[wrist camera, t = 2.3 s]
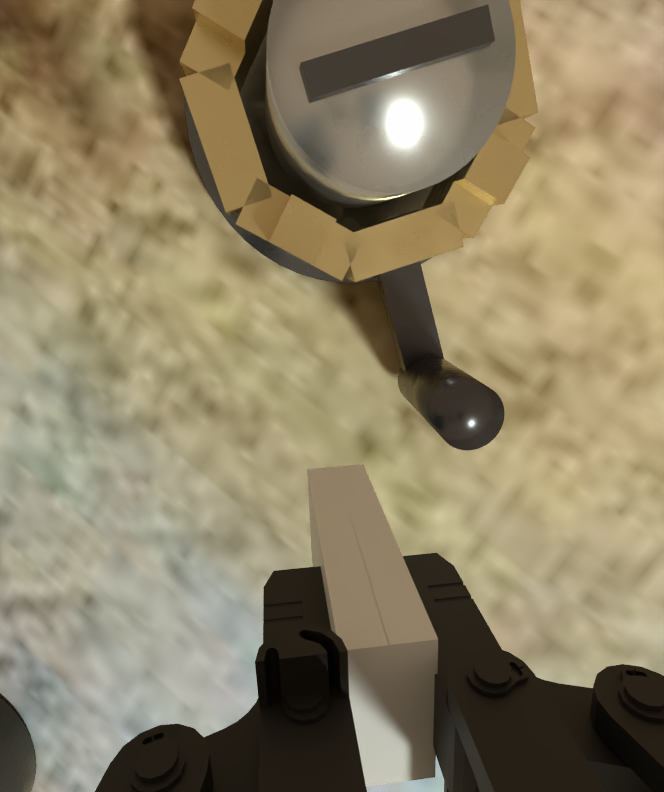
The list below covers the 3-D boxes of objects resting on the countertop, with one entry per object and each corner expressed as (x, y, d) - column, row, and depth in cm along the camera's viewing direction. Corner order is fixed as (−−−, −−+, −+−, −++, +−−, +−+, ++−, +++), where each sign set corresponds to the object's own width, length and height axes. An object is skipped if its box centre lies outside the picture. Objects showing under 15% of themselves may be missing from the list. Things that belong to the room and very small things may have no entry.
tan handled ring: (149, -15, 22) (105, -119, 16) (463, -110, 22) (542, -248, 16) (308, 443, 28) (322, 501, 22) (549, 362, 29) (631, 396, 22)
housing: (252, 319, 27) (247, 358, 18) (134, -14, 23) (49, -184, 14) (526, 229, 28) (655, 223, 19) (463, -113, 23) (592, -341, 14)
